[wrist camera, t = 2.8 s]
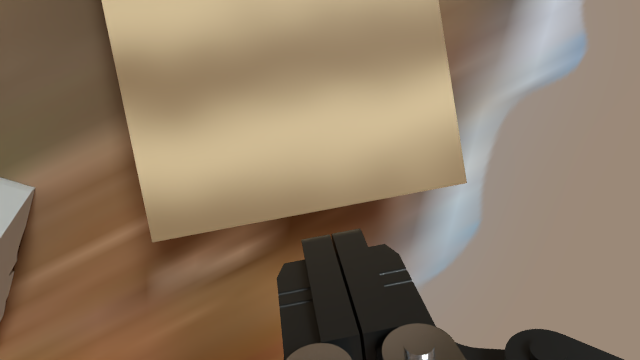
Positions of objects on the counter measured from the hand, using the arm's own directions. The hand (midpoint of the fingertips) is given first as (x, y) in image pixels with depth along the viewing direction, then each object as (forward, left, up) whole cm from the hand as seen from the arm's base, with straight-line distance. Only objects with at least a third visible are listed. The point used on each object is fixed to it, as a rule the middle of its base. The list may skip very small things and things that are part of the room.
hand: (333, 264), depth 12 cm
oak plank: (-2, 0, -14) cm, 14 cm away
